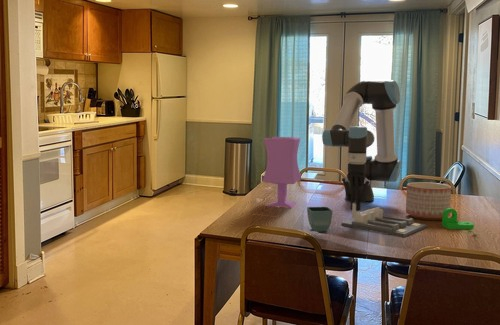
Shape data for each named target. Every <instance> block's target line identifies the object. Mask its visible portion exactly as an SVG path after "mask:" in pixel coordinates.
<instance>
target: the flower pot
mask: <svg viewBox="0 0 500 325" xmlns="http://www.w3.org/2000/svg"><path fill="white" fill-rule="evenodd" d="M306 210H307V220H308V223H309V226H310V228H311V229H312V231H313V232H315V233H316V232H327V231H328V230H329V229H330V226H331V225H332V224H331V223H332V220H333V219H332V218H333V211H334V210H332V209H331V208H329V207H328V206H308V207H306Z"/></svg>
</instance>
